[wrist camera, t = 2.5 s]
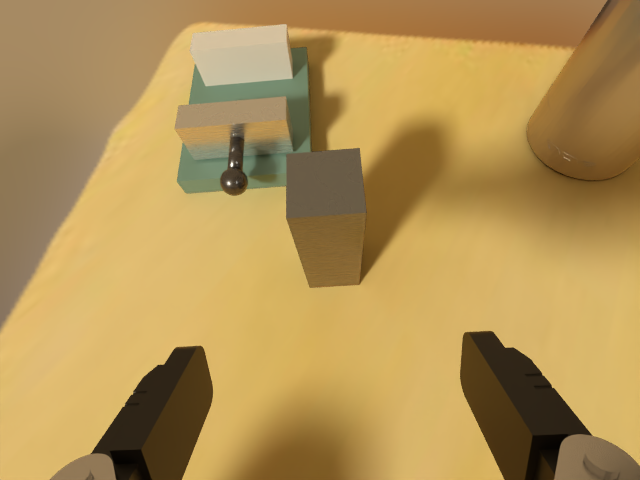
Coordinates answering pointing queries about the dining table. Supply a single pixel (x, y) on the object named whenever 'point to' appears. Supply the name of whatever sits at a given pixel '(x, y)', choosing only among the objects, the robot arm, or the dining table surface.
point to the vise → (248, 97)
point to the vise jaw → (235, 133)
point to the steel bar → (327, 214)
